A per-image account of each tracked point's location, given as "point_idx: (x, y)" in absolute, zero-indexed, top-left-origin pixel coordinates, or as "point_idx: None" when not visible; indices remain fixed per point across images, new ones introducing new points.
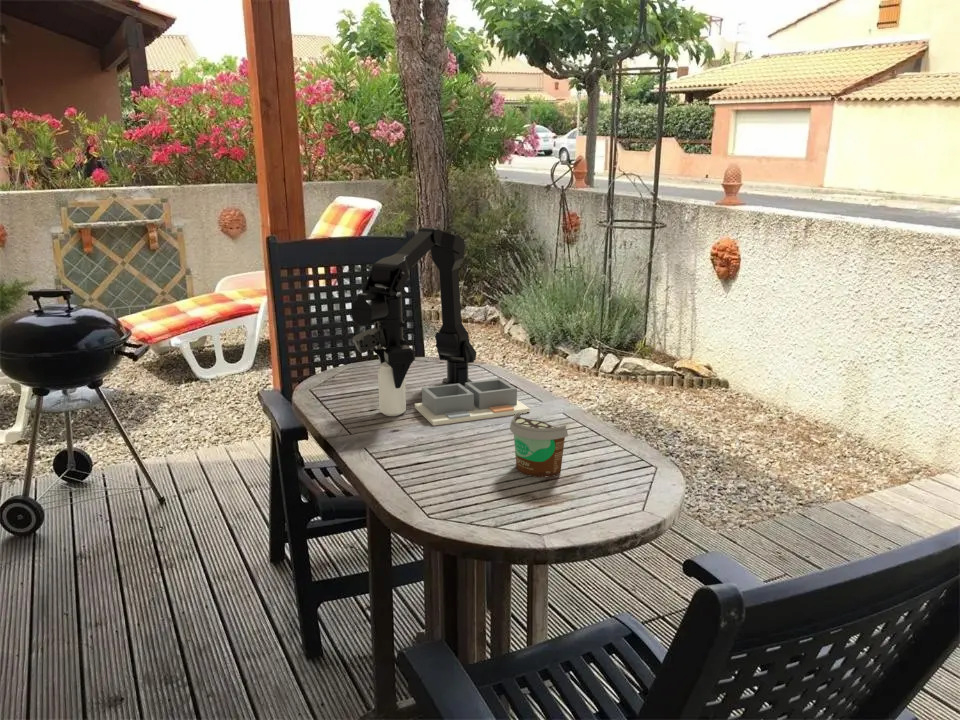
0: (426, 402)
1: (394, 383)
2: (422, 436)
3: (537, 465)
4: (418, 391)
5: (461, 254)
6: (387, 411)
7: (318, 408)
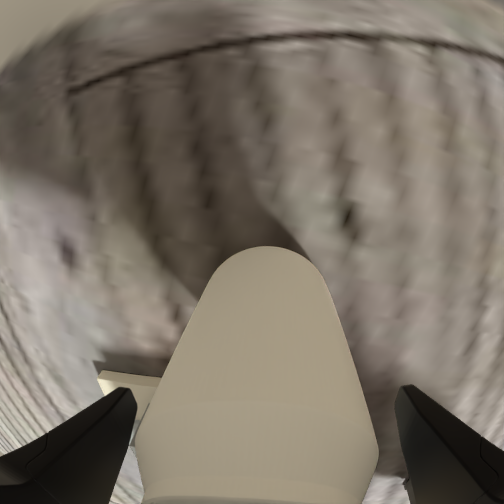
0: None
1: (106, 403)
2: (31, 312)
3: None
4: (449, 403)
5: None
6: (212, 275)
7: (438, 17)
